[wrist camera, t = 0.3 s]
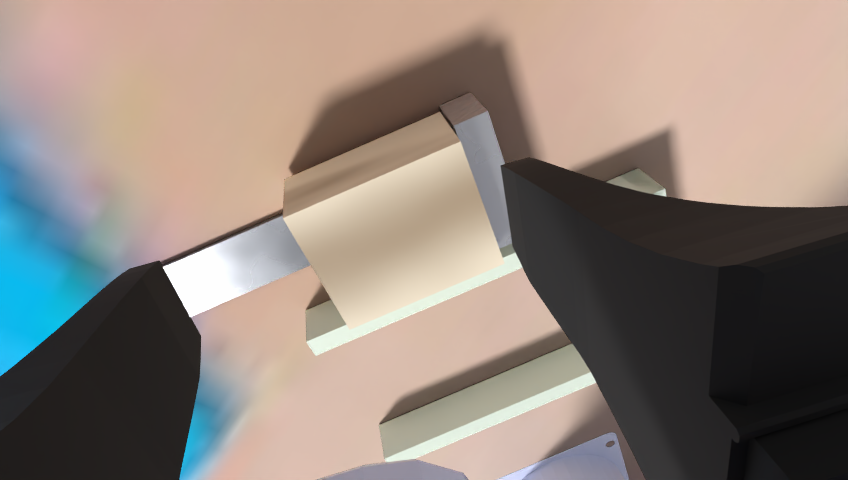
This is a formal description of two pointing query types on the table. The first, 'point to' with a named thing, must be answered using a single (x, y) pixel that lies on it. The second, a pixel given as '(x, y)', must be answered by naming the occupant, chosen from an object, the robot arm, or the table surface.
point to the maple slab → (392, 221)
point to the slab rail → (279, 251)
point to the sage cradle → (483, 399)
